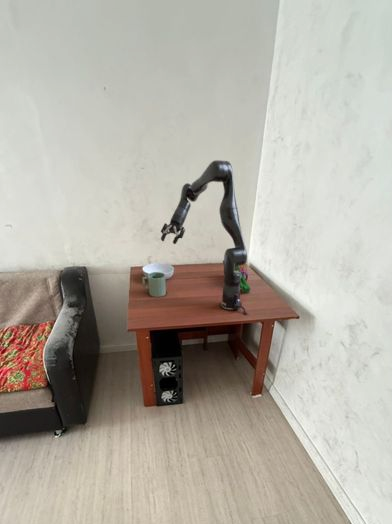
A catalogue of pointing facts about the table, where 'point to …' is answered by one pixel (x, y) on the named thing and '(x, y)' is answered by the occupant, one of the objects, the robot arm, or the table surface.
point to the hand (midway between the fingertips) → (167, 242)
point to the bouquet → (242, 278)
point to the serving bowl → (158, 269)
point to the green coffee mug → (156, 284)
